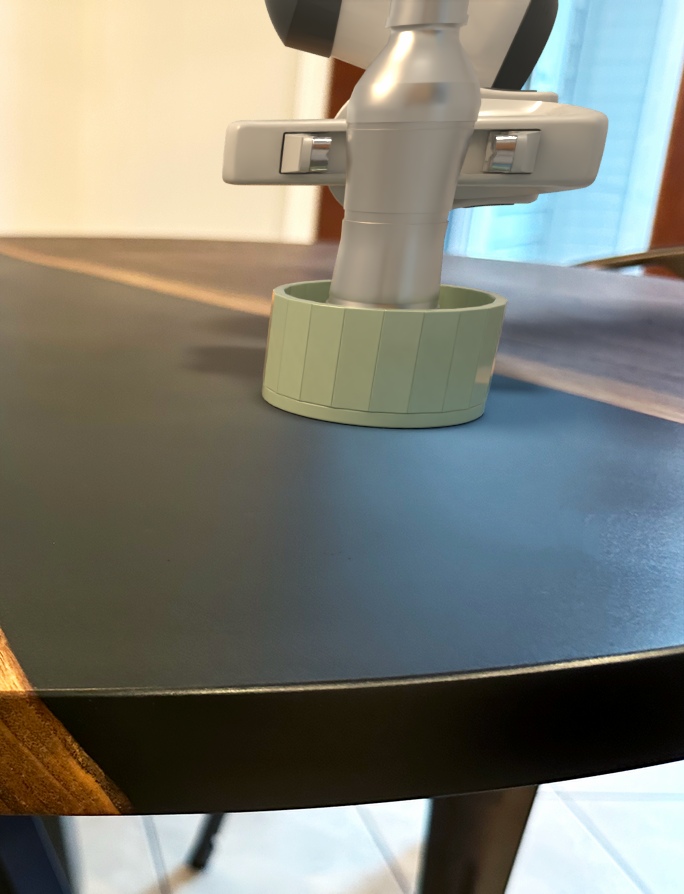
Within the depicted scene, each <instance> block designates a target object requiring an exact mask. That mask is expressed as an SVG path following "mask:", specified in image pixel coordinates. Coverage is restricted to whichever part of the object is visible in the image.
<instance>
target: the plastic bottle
mask: <svg viewBox="0 0 684 894" xmlns="http://www.w3.org/2000/svg"><path fill="white" fill-rule="evenodd" d="M468 5H469V0H391V4H390V11H389V18H387V19H386V24H385V29H387V30H391V33H390V37H389V40H388V43H387V45H386V46H385V47H384V48H383V50H382V51H381V52H380V53H379V54H378V56H377V57H376V58H375V59H374V61H373V62H372V63H371V64H370V65H369V67H368V68H367V70H365V71H364V73H362V75H361V77H360V78H359V79H358V81H357V82H356V84H355V85H354V87H353V91H352V92H351V95H350V97H349V99H350V100H349V99H348V100H349V102H348V105H347V118H346V123H347V130H346V187H345V198H344V207H343V210H344V217H343V218H342V223H341V233H340V234H341V235H340V240H339V245H338V249H337V254H336V259H335V263H334V268H333V271H332V272H333V273H332V275H331V277H332V278H331V280H332V281H331V286H330V290H329V295H330V296H329V298H328V300H326V302H325V303H327V304H335V305H344V306H354V307H368V308H382V309H416V310H429V309H440V306H439V305H438V300H439V293H440V284H441V280H442V272H443V271H442V270H443V259H444V250H445V249H444V248H445V240H446V239H445V238H446V235H447V230H448V226H449V222H450V221H449V220H448V219H449V215H450V212H452V210H451V209H452V205H453V200H454V196H455V191H456V187H457V182H458V179H459V176H460V172H461V169H462V166H463V163H464V160H465V157H466V154H467V151H468V147H469V144H470V141H471V138H472V135H473V132H474V128H473V127H474V124H475V122H476V121H477V119H478V115H479V110H480V107H481V103H482V102H481V92H480V83H479V80H478V78H477V75H476V73H475V70H474V68H473V65H472V63H471V61H470V59H469V57H468V56H467V54H466V52H465V50H464V48H463V46H462V45H461V43H460V41H459V32H460V28H461V27H463V26H466V25H467V24H468V18H469V15H467V11H468Z"/></svg>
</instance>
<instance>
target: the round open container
mask: <svg viewBox="0 0 684 894" xmlns="http://www.w3.org/2000/svg"><path fill="white" fill-rule="evenodd" d="M331 281H332V279H319V280H318V279H317V280H306V281H297V282H291V283H284V284H281V285H278V286H277V287H275V288H273V289H272V295H271V303H270V310H269V311H270V312H269V320H268V329H267V335H266V336H267V338H266V346H265V354H264V361H263V363H264V364H263V371H262V386H261V396H262V399H263V400H264V401H265V402H267V403H268V404H270V405H271V406H273V407H275V408H276V409H277V408H278V409H279V410H282V411H285V412H287V413H291V414H293V415H297V416H301V417H305V418H309V419H314V420H319V421H325V422H330V423H336V424H344V425H351V426H360V427H361V426H362V427H370V428H371V427H373V428H390V429H425V428H426V429H428V428H439V427H450V426H454V425H455V426H456V425H461V424H466V423H470V422H472V421H475V420H477V419H479V418H480V417H481V416H483V414H484V413H485V409H486V403H487V399H488V397H489V394H490V390H491V389H490V388H491V385H492V379H493V375H494V370H495V366H496V360H497V355H498V351H499V345H500V340H501V336H502V331H503V326H504V321H505V317H506V311H507V307H508V302H509V300H508V298H506V297H504V296H502V295H501V294H500V293H496V292H492V291H488V290H485V289H481V288H474V287H469V286H464V285H463V286H462V285H456V284H446V283H440V293H439V300H438V305H439V306H440V309H429V310H416V309H382V308H368V307H354V306H344V305H335V304H327V303H325V302H326V300H328V298H329V296H330V295H329V290H330V286H331Z"/></svg>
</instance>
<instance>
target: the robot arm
mask: <svg viewBox="0 0 684 894" xmlns="http://www.w3.org/2000/svg"><path fill="white" fill-rule="evenodd" d="M263 1H264V4H265V8H266V12H267V14H268V18H269V19H270V22H271V24H272V27H273V29H274V31H275V32H276V35H277V36H278V38H279V39H280V41H281V43H282V44H283V46H284V47H286V48H289V49H294V50H297V51H300V52H304V53H309V54H311V55H315V56H318V57H322V58H326V59H330V58H331V57H332V58H334V59H337V60H340V61H341V62H344V63H348V64H349V65H352V66H355V67H357V68H360V69H363V70H365V71H366V70H367V68H368V67H369V65H370V64H371V63H372V62H373V61H374V59H375V58H376V57H377V56H378V54H379V53H380V52H381V51H382V50H383V48H384V47H385V46H386V45H387V43H388V40H389V37H390V33H391V30H387V29H385V24H386V19H387V18H389V11H390V4H391V0H263ZM558 12H559V0H469V5H468V11H467V15H469V18H468V24H467V25H466V26H463V27H461V28H460V32H459V41H460V43H461V45H462V46H463V48H464V50H465V52H466V54H467V56H468V57H469V59H470V61H471V63H472V65H473V68H474V70H475V73H476V75H477V78H478V80H479V83H480V92H481V102H482V103H481V107H480V110H479V115H478V119H477V121H476V122H475V124H474V127H473V128H474V132H473V135H472V138H471V141H470V144H469V147H468V151H467V154H466V157H465V160H464V163H463V166H462V169H461V172H460V176H459V179H458V182H457V187H456V191H455V196H454V200H453V205H452V209H451V211H452V210H457V209H472V208H481V207H497V206H498V207H500V206H514V205H518V204H519V205H520V204H522V205H527V204H528V205H529V204H532V203H534V202H536V201H537V200H538V197H539V195H545V194H552V193H554V194H555V193H561V192H568V191H574V190H581V189H585V188H588V187H590V186H592V184H594V182H596V179H597V177H598V174H599V171H600V167H601V164H602V159H603V156H604V152H605V147H606V141H607V137H608V133H609V117H608V116H607V115H606V113H605V112H603V111H600V110H596V109H593V108H590V107H585V106H582V105H577V104H576V105H575V104H570V103H561V102H559V94H557V93H556V92H554V91H538V90H537V89H523V88H524V86H525V84H526V83H527V81H528V80H529V78H530V76H531V75H532V73H533V71H534V69H535V67H536V66H537V64H538V62H539V60H540V58H541V56H542V54H543V52H544V50H545V48H546V45H547V43H548V42H549V39H550V37H551V34H552V31H553V29H554V26H555V23H556V19H557V16H558ZM349 100H350V98H349V99H348V100H346V102H345V103H344V104H343V105H342V107H341V108H340V109H339V110H338V112H337V113H336V115H335V116H334V118H301V119H299V118H298V119H297V118H296V119H290V118H289V119H242V120H234V121H231V122H230V123H229V124H228V125H227V127H226V130H225V136H224V144H223V145H224V146H223V155H222V157H223V158H222V169H221V170H222V171H221V178H222V181H223V182H224V183H225V184H228V185H233V186H280V187H281V186H289V187H290V186H293V187H294V186H295V187H296V186H297V187H298V186H299V187H300V186H302V187H303V186H310V187H311V186H314V187H316V186H317V187H319V186H320V187H321V186H323V187H325V186H327V187H328V190H329V191H330V193H331V194H332V196H333V198H334V199H335V200H336V202H338V204H339V205H341V207H343V208H344V198H345V187H346V130H347V123H346V118H347V105H348V102H349Z"/></svg>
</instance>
